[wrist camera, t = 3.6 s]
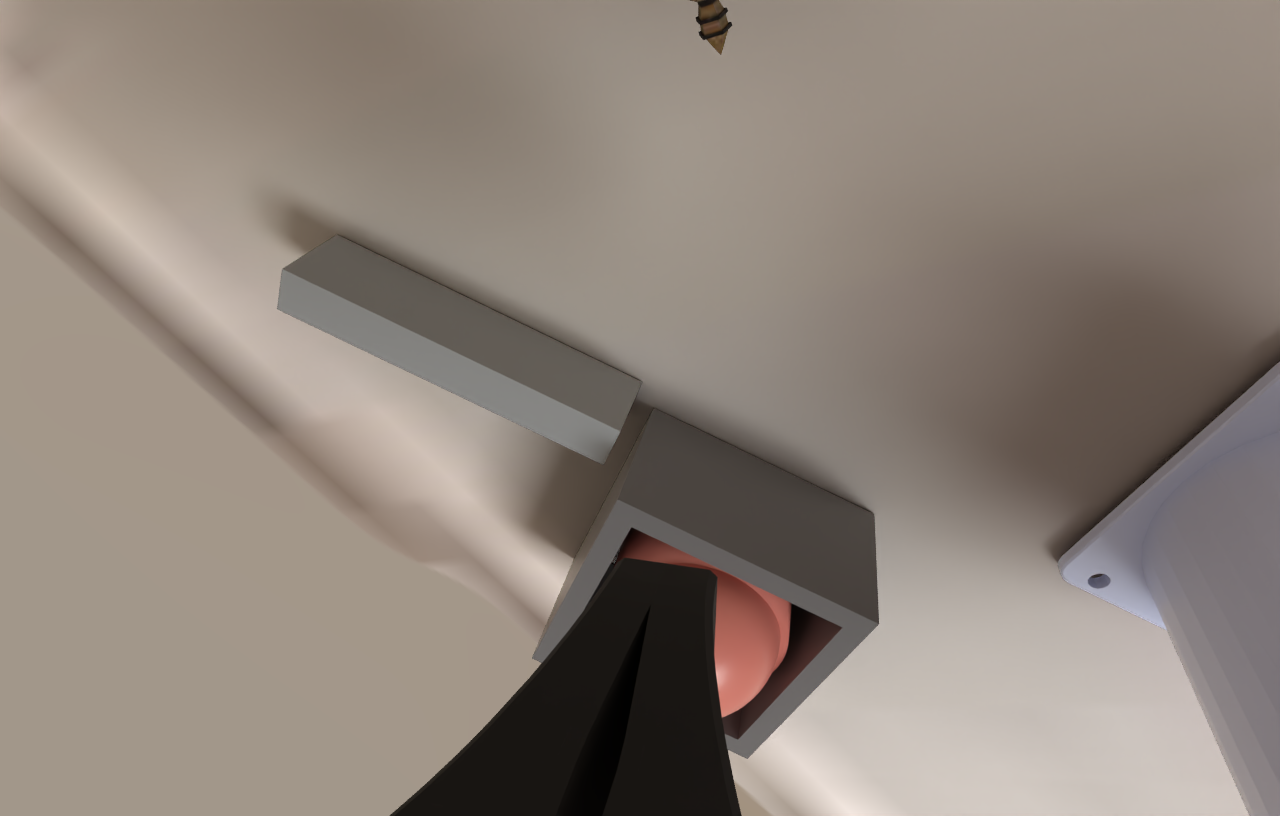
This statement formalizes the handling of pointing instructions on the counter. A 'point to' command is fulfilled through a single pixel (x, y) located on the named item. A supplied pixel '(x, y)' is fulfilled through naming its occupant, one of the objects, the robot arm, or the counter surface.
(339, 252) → the bar
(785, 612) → the dome
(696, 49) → the counter surface
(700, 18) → the game die
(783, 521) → the dome housing
